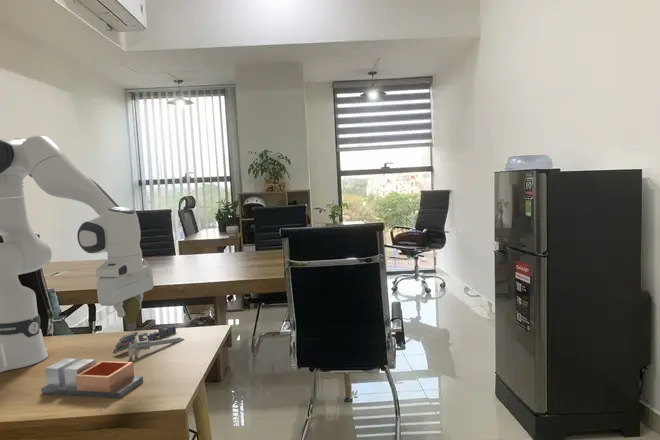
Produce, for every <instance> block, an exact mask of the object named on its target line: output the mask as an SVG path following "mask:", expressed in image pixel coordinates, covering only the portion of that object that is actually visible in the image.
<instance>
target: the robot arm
mask: <svg viewBox="0 0 660 440" xmlns="http://www.w3.org/2000/svg"><path fill="white" fill-rule="evenodd" d="M27 176H29V177H30V178H32V179H33V180H34V182H35V183H36V185H37V186H38V187H39V188H40V189H41V190H42V191H43V192H44V193H45V194H47V195H49V196H51V197H56V198H61V199H62V198H63V199H67V200H73V201H76V202H80V203H83V204H85V205H87V206H89V207H90V208H92V209H93V211H94V212H95V213H96V214H97V215H98V216H97V217H95V218H93V219H90V220H88V221H85V222H84V221H83V222H82V223H81V225H80V226H79V228H78V231H77V242H78V244H79V247H80V248H81V249H82V250H83V251H84V252H85V253H87V254H102V253H107V260H105V262H104V263H102V264H101V265H100V266H99V267H98V268H96V269H95V276H96V277H97V281H96V292H97V302H98V303H99V305H100V306H101V307H112V306H113V308H114V310H115V311H116V314H117V318H123V317H124V316H126V310H124V309H123V307H122V305H123V301H124V300H127V299H129V298H132V297H135V298H136V299H138V301H139V302H140V310H141V309H142V303H143V298H144V293H146V292H148V291H150V290H151V291H152V289H154V277H153V272H152V268H151V266H150V263H149V262H148V260H146V259H143V252H142V248H141V244H140V242H141V238H142V237H141V235H142V230H141V226H140V222H139V221H140V220H139V216H138V214H137V212H136V210H134V209H133V208H131V207H128V206H127V207H126V206H119V205H118V204H117V202H116V201H114V199H113V198H112V197H111V196H110V195H109V194H108V193H107V192H106V191H105V190H104V189H103V188H102V187H101V186H100V185H99V184H98V183H97V182H95V180H93V179H92V178H90V177H88V176H87V175H86V174H84V173H83V172H82V171H81V170H80V169H78V167H77V166H76V165H75V164H74V163H73V162H72V161H71V160H70V158H69V157H68V156H67V154H66V153H65V152H64V150H63V149H61V147H60V146H59V145H58V144H57V143H55V142H54V141H52V140H51V139H50V138H49V137H47V136H44V135H32V136H30V137H27V138H22V137H21V138H18V137H14V138H0V235H1V238H2V240H3V242H0V373H3V372H6V371H9V370H10V371H11V370H15V369H21V368H24V367H28V366H32V365H35V364H37V363H40V362H42V361H44V360H45V359H47V358H48V356H49V353H48V348H47V347H46V346H45V341H44V336H43V332H42V329H41V317H40V314H39V313H38V306H37V305H38V304H37V297H36V292H35V291H34V290H33V289H31V288H29V287H27V286H25V285H22V283H21V281H20V279H19V275H23V274H29V273H32V272H36V271H39V270H40V269H42V268H44V267H46V266H48V264H50V262H51V260H52V250H51V249H52V248H51V247H50V245H49V244H48V243H47V242H46V241H44V240H43V239H41V238H40V237H39V236H38V235H37V233H35V231H34V230H33V228H32V226H31V224H30V222H29V219H28V213H27V207H26V206H27V205H26V200H25V192H24V187H23V182H24V179H25V178H26V177H27Z"/></svg>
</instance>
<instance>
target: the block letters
mask: <svg viewBox="0 0 660 440" xmlns="http://www.w3.org/2000/svg"><path fill="white" fill-rule="evenodd" d="M157 329H158V330H157V331H153V332H152V333H149V334H148V332H142V333H139V331H136V330H134V331H133V332H132V333H128V334H125V335H123V336H121V338H120V339H119V340H118V341H119V342H117V343H116V345H115V346H114V347H115V348H114V349H113V352H112V353H113V354H114V355H116V354H118V353H119V352H121V351H124V350H128V348H129V343H131V340H135V339H136V337H137V335H138V342H141V341H157V340H161V339H165V337H169V336H170V335H173V334H176V333H177V328H176V326H174V325H170V326H167V328H166V327H164V328H163V327H161V326H159V327H157ZM138 333H139V334H138Z"/></svg>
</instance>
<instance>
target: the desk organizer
mask: <svg viewBox="0 0 660 440" xmlns="http://www.w3.org/2000/svg"><path fill="white" fill-rule="evenodd" d="M44 370H45V378H46V385H45V386H43V387H40V390H41V395H42V394H43V395H54V396H56V395H57V396H58V395H59V396H74V397H90V398H104V399H105V398H109V399H121V398H122V397H124V396H125V395H127V394H128V393H130V392H131V391H132V390H134V389H136V388H137V387H138V386H140V385H141V384H142V383H144V376H142V375H141V376H140V375H135V368H134V361H115V360H114V361H111V360H109V361H108V360H101V361H100V362H96V359H93V358H92V359H91V358H82V359H81V360H79V361H78V358H67V357H65V358H63V359H61V360H59V361H57V362H55V363H53V364H50V365H49V366H47V367H45V368H44Z"/></svg>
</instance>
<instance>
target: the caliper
mask: <svg viewBox="0 0 660 440" xmlns="http://www.w3.org/2000/svg"><path fill="white" fill-rule="evenodd" d="M184 340H185V338H183V337H180V336H179V337H172V338H163V339H159V340H154V341H147V340H145V341H141V342H139V341H138V339H136V338H135V340H131V343H129V348H127V352H128V359H130V360H133V358H138V357H139V354H140V351H141V350H150V348H151V347H156V346H161V345H169V344H174V343H180V342H182V341H184ZM133 356H134V357H133Z"/></svg>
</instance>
